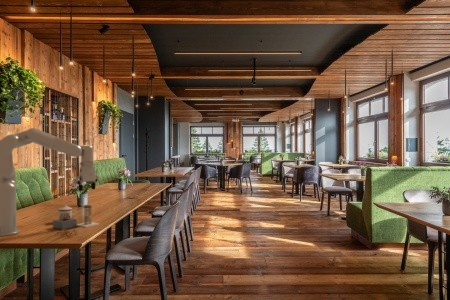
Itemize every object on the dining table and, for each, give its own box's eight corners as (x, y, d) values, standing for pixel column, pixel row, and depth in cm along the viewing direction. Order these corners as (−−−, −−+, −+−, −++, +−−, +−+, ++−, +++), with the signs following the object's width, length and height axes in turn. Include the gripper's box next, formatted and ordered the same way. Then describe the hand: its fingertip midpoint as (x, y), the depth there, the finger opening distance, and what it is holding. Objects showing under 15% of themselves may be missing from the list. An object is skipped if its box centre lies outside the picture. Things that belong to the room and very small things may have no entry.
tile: (86, 227, 230) (86, 226, 230) (76, 225, 235) (76, 224, 235) (99, 224, 239) (99, 223, 239) (89, 222, 244) (89, 221, 244)
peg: (87, 225, 234) (87, 206, 234) (82, 224, 236) (82, 205, 236) (93, 223, 238) (93, 205, 238) (88, 222, 240) (88, 204, 240)
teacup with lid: (57, 223, 242) (57, 206, 242) (58, 220, 251) (58, 204, 251) (76, 222, 247) (76, 205, 247) (77, 219, 255) (76, 203, 255)
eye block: (62, 229, 224) (62, 222, 224) (53, 228, 229) (53, 220, 229) (76, 226, 232) (76, 219, 232) (67, 225, 238) (67, 217, 237)
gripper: (79, 164, 227) (79, 191, 227) (101, 163, 242) (101, 189, 242) (72, 164, 231) (71, 190, 231) (94, 163, 246) (94, 188, 246)
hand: (87, 189), depth 237 cm, fingers open, 9 cm apart
